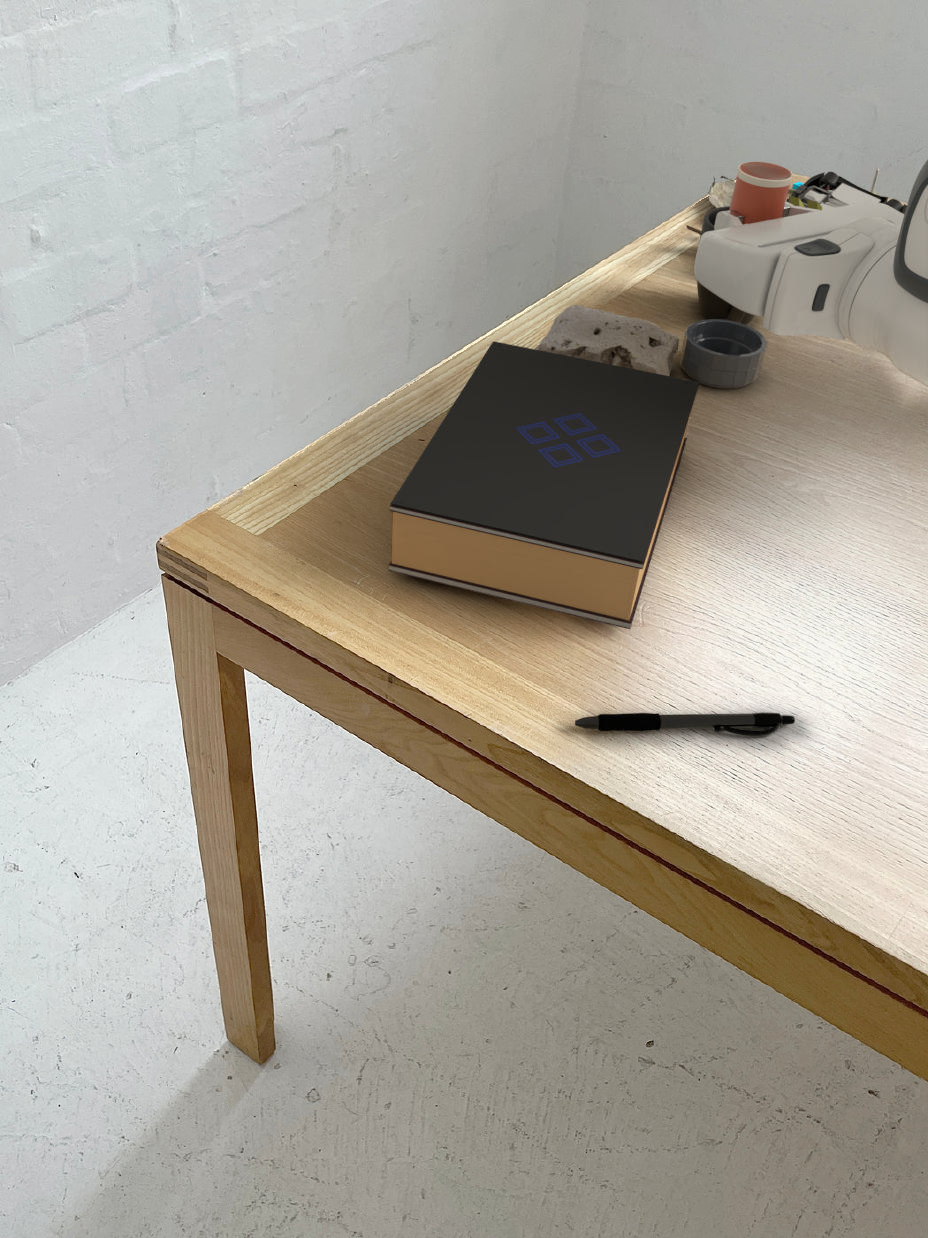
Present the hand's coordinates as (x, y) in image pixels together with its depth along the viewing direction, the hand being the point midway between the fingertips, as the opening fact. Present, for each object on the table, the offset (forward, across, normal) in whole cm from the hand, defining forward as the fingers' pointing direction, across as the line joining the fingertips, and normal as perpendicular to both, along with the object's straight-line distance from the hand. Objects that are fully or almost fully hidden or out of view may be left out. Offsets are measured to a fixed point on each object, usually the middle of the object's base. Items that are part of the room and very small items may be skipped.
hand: (747, 214), depth 97 cm
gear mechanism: (+21, -36, +12) cm, 44 cm away
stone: (+3, +10, +15) cm, 18 cm away
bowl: (-1, 0, +15) cm, 15 cm away
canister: (-1, 0, +6) cm, 6 cm away
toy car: (+18, -34, +10) cm, 40 cm away
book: (-12, +27, +15) cm, 33 cm away
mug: (+7, -8, +15) cm, 18 cm away
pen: (-36, +32, +14) cm, 50 cm away
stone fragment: (+29, -27, +11) cm, 41 cm away
